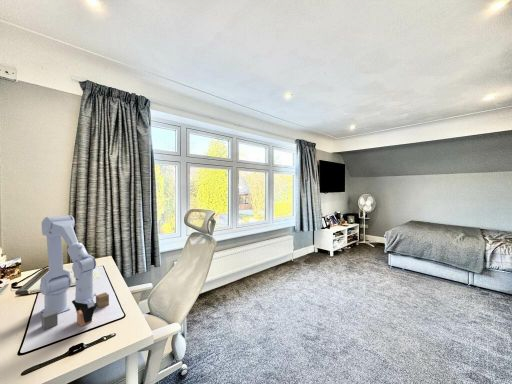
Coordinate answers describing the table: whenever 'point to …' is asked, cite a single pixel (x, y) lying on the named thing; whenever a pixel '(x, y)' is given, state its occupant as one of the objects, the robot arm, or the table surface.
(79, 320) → the terracotta block
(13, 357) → the table surface
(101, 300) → the walnut block
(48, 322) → the charcoal block
